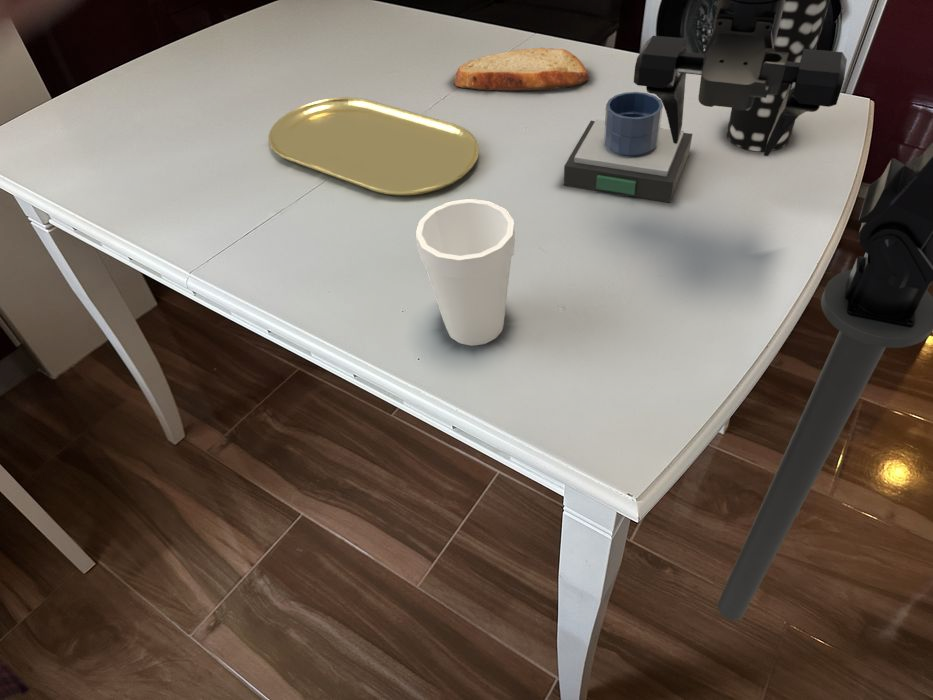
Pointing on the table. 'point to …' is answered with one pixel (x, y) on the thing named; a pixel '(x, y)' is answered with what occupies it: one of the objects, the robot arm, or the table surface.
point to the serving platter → (375, 145)
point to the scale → (627, 166)
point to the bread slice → (523, 71)
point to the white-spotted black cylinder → (755, 123)
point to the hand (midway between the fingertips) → (720, 147)
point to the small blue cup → (632, 123)
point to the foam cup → (468, 266)
